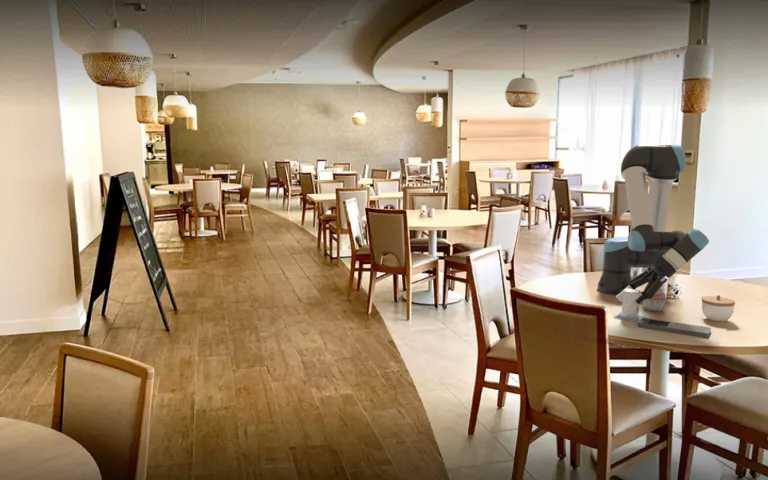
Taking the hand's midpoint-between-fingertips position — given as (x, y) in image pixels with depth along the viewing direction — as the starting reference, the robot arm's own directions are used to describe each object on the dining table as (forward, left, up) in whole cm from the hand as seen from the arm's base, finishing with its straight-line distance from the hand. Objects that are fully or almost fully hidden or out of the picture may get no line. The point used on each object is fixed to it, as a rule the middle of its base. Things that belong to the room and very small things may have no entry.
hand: (623, 303), depth 230 cm
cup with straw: (-11, +74, -6) cm, 75 cm away
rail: (+18, -6, -6) cm, 20 cm away
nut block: (+2, +1, -5) cm, 6 cm away
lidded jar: (+29, +17, -6) cm, 35 cm away
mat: (+2, +1, -6) cm, 6 cm away
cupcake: (+7, +19, -6) cm, 22 cm away
